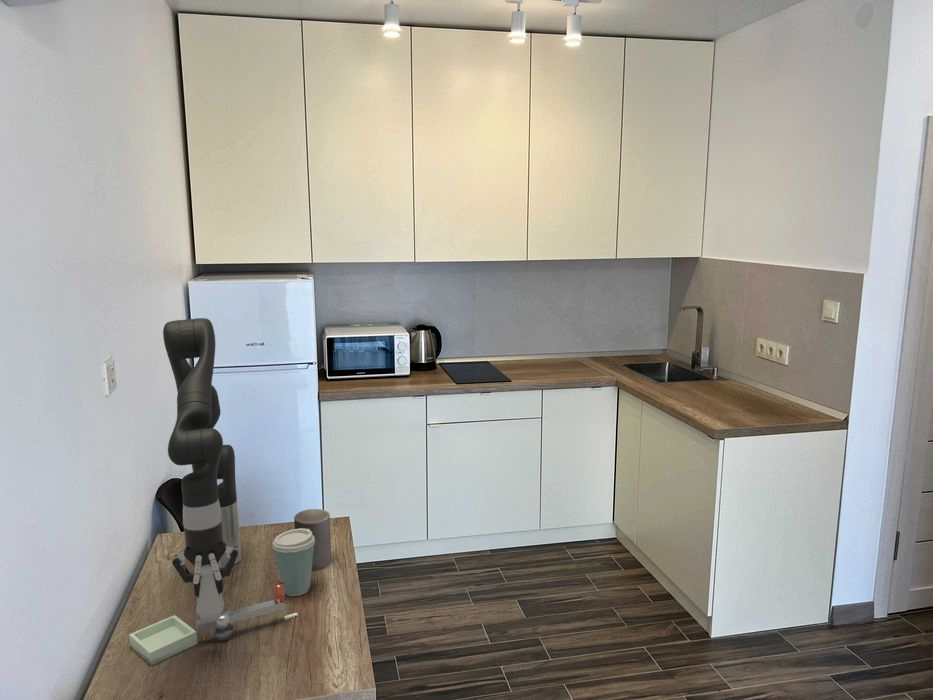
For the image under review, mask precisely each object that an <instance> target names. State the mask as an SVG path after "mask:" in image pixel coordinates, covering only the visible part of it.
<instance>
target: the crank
mask: <svg viewBox="0 0 933 700" xmlns="http://www.w3.org/2000/svg"><path fill="white" fill-rule="evenodd" d="M285 595H286V594H285V592H284V583H283V582H281V581H279V582H275V583H274V584H273V599H272V600H268V601H263V602H260V603H256V604H251V605H248V606H245V607H239V608H236V609H233V610H223V612H222V614H221V616H220V618H219V619H218V620H216V621H213V622H203V621H202V620H201V618H198V619H195V627H196V632H197V633H198V632H202V631H207V630H210V629H213V628H214V629H215V631H217V632H223V631H227V630H228V629H230V628H231V624H233V623H235V622H236V623H237V622H241V621H243V620H244V621H245V620H247V619H251V618H255V617H258V616H263V615H266V614H270V613H273V612H278V611H281V610H285V609H286V608H285V607H286V605H285V602H286V596H285Z"/></svg>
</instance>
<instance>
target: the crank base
mask: <svg viewBox="0 0 933 700" xmlns="http://www.w3.org/2000/svg"><path fill="white" fill-rule="evenodd" d="M234 630H235V629H234V625H233V623H231V628H230V629H228V630H227V631H223V632H217V631H215V629H214V628H212V637H213V641H214V642H216V643H225V642H228V641H230V640H232V639H233V637H234V636H235V633H234Z"/></svg>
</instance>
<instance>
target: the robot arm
mask: <svg viewBox="0 0 933 700" xmlns="http://www.w3.org/2000/svg"><path fill="white" fill-rule="evenodd" d="M162 337H163V343H164V347H165V351H166V355H167V358H168V360H169V364H170V367H171V370H172V373H173V377H174V381H175V384H176V392H177V396H176V409H177V410H176V420H175V425H174V426H173V427H174V428H173V430H172V432H171V435H170V438H169V440H168V445H167V454H168V457H169V460H170V461H171V462H172V463H173V464H174V465H176V466H188V465H189V466H190V465H191V469H192V472H190V473H188V474H186V475H184V476H182V479H181V482H180V483H181V484H180V485H181V486H180V487H181V497H182V498H181V499H182V524H183V533H184V540H185V541H184V542H185V547H184V550H183V552H182V553H180V554H174V555H173V557H172V563H171V564H172V565H173V567H174V568H175V571H176V572H177V573H178V574H179V576H180V577H181V579H182V580H183V582H184V583H186V584H188V583H192V584H193V589H194V596H195V597H196V598H199V592H200V585H201V584H200V575H199V574H200V569H201V566H202V565H206V564H211V566H212V569H213V572H215V573H214V574H215V578H216V580H215V584H216V588H217V591H218V594H219V596H220V593H223V591H224V584H223V583H224V582H223V579H224V578H225V577H229V576H230V575H231V573H232V571H233V568H234V566H235V565H236V564H237V563H239V562H240V561H241V560H242V549H241V547H242V546H241V535H240V534H241V533H240V522H239V510H238V496H237V485H236V484H237V483H236V456H235V450H234V447H233V446H232V445H231V444H224V441H223V436H222V434H221V433H220V431H219V430H217V429H215V426H216V424H217V423H218V422H219V419H220V416H221V407H220V400H219V394H218V391H217V389H216V387H215V386H214V385H213V384H212V383H213V376H214V375H213V374H214V366H215V357H216V335H215V329H214V325H213V323H212V321H211V320H210V319H209V318H207V317H200V318H198V317H197V318H189V319H178V320H177V319H176V320H171V321H168V322H166V323H165V324H164V326H163V331H162ZM197 358H198V360H197V362H196V364H195V365H194V366H193V367H192V366H191V365H190V363H189V362H188V359H197ZM218 480H222V482H220V483H219V484H218ZM186 560H188V561H189V562H190V563H191V564H192V565H193V566H194V569H193V571H194V572H193V573H190V572H191V571H189V569H188V568H187V566H186V564H185V562H186Z"/></svg>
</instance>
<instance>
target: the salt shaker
mask: <svg viewBox="0 0 933 700" xmlns="http://www.w3.org/2000/svg"><path fill="white" fill-rule="evenodd" d="M214 573H215V572H213V569H212V566H211V564H206V565H202V566H201V569H200V574H199V575H200V584H201V585H200V592H199V598H198V597H196V598H197V600H196V606H195V608H196V609H195V612H196V614H197V615H198V616H199V619H201V620H202V621H203V622H213V621H216V620H218V619H219V618H220V616H221V614H222V612H223V611H224V609H225V601H224V597H223V594H222V593H223V592H222V593H220V596H219V594H218V591H217V588H216V584H215V580H216V578H215V574H214Z"/></svg>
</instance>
